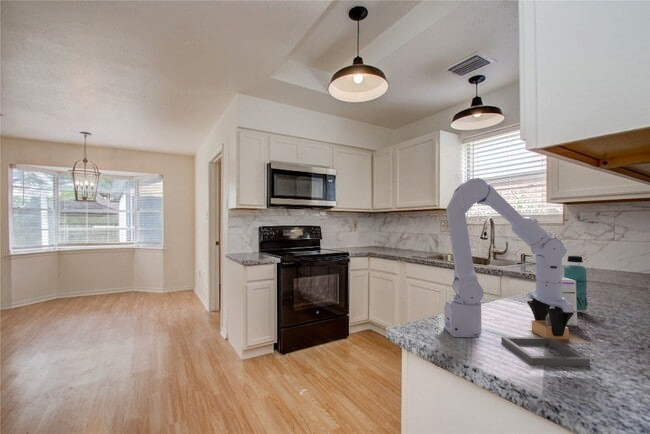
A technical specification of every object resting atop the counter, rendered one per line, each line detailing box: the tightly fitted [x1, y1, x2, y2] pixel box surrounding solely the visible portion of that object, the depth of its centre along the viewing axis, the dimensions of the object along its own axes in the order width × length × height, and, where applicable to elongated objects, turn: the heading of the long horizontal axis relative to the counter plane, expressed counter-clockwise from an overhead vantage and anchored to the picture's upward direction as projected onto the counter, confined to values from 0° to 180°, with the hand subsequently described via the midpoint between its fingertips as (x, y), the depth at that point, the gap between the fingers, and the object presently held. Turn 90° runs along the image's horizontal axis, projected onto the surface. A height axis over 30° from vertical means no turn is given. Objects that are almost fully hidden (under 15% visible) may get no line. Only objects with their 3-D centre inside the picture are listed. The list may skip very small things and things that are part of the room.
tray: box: [501, 336, 591, 371], centre depth 70 cm, size 12×12×2 cm
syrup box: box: [548, 276, 578, 326], centre depth 92 cm, size 6×6×14 cm
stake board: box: [528, 315, 592, 345], centre depth 80 cm, size 10×9×6 cm
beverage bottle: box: [563, 255, 588, 311], centre depth 106 cm, size 6×7×20 cm
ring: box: [531, 319, 570, 339], centre depth 81 cm, size 7×6×3 cm
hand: (549, 331), depth 81 cm, fingers closed on ring, 6 cm apart
